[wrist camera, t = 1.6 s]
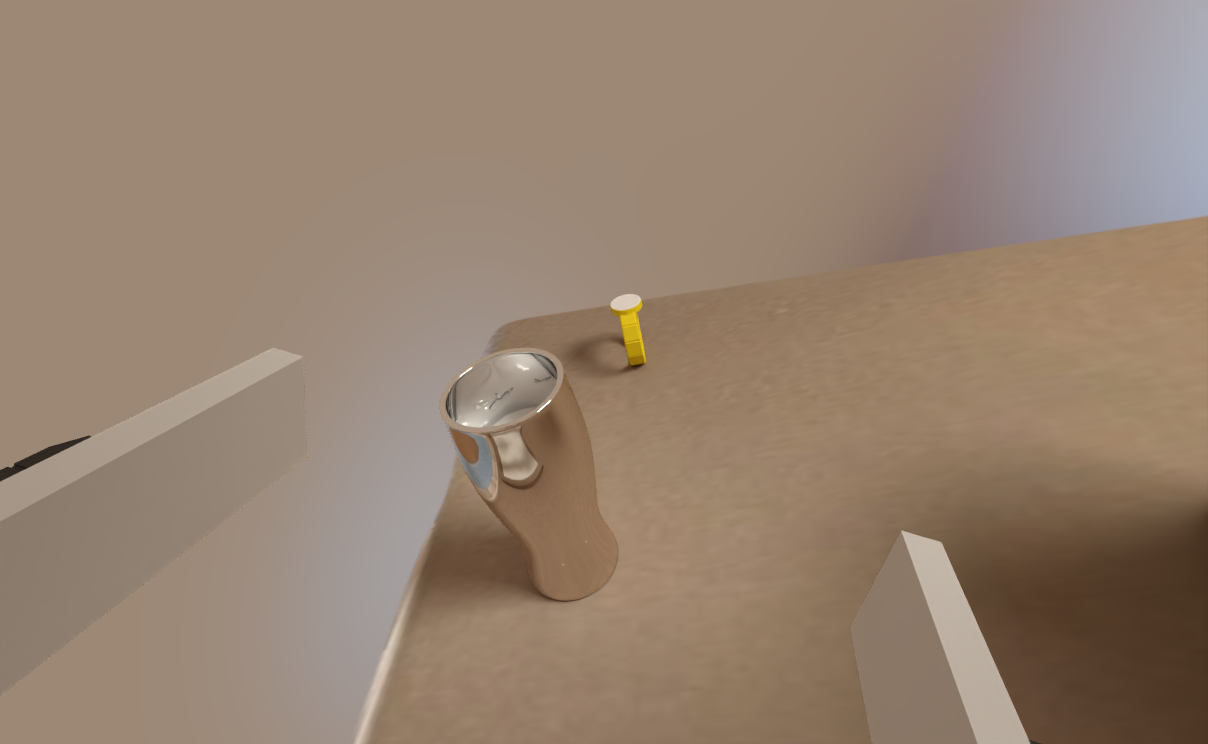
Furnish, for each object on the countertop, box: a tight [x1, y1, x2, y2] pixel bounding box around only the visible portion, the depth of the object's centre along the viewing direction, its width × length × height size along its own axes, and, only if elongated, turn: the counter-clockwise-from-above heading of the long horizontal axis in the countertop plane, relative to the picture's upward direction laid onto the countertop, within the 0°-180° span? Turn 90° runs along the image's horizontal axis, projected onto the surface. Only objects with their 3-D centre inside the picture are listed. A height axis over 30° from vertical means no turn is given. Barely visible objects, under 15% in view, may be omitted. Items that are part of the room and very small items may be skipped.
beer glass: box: [439, 348, 618, 601], centre depth 34 cm, size 7×7×15 cm
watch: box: [610, 294, 646, 366], centre depth 53 cm, size 6×3×6 cm, turn 2°
